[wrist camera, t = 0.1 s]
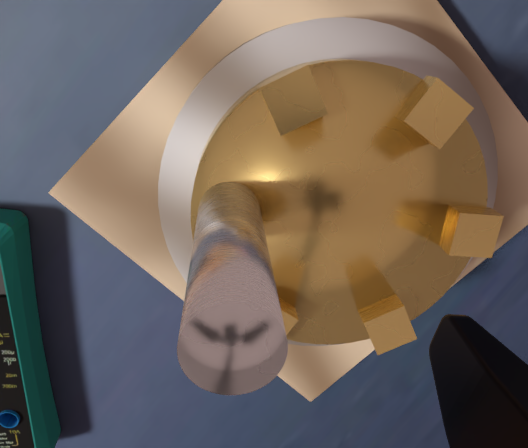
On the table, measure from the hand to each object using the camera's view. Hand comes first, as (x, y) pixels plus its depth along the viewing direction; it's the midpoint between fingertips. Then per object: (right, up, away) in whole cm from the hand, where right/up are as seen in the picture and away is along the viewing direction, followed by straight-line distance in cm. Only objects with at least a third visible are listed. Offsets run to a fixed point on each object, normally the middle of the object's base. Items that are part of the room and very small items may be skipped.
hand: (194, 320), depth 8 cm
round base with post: (+4, +3, +13) cm, 14 cm away
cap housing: (+4, +4, +16) cm, 16 cm away
